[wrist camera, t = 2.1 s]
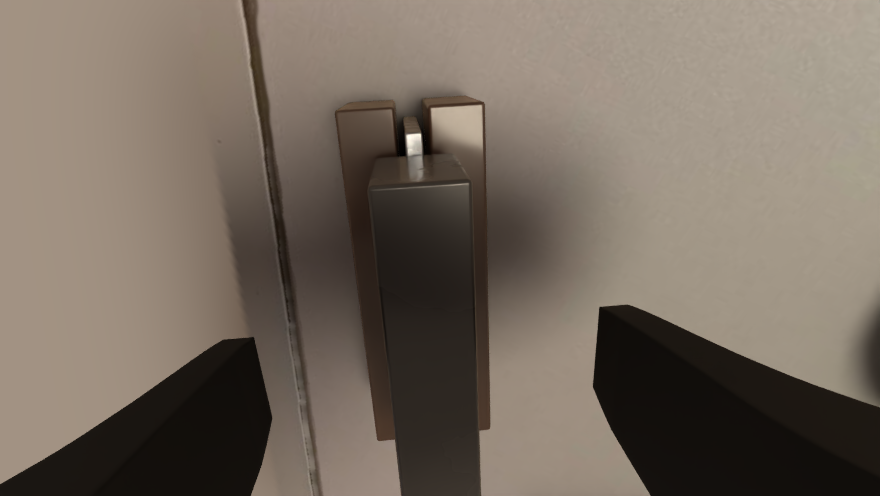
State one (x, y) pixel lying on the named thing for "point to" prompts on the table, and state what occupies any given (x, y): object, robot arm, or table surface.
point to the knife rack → (361, 143)
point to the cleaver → (428, 315)
